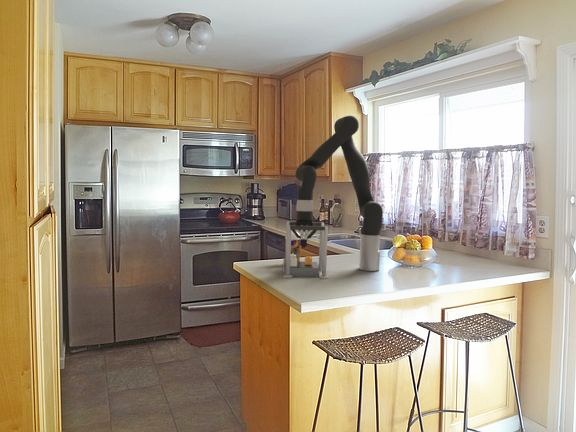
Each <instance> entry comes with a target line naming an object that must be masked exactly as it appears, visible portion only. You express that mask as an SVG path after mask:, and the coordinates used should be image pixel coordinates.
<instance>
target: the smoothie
mask: <svg viewBox="0 0 576 432" xmlns="http://www.w3.org/2000/svg"><path fill="white" fill-rule="evenodd" d="M292 226H294V225H292ZM295 231H296V232H297V233H298V235H300V232H299V231H298V230H295ZM284 239H285V240H284V242H285V243H284V244H285V245H284V246H285V250H286V236H285V237H284ZM300 243H301V239H299V238H297V237H296V235H295V234H294V233H293V231H292V230H291V254H294V255H296V259H297V261H300V260H301V252H302V251H301V250H302V249H301V248H302V246H301V245H300Z"/></svg>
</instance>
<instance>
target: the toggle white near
mask: <svg viewBox="0 0 576 432" xmlns="http://www.w3.org/2000/svg"><path fill="white" fill-rule="evenodd" d="M290 266H297V259H295V258H290Z"/></svg>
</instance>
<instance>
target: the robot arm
mask: <svg viewBox="0 0 576 432" xmlns="http://www.w3.org/2000/svg"><path fill="white" fill-rule="evenodd" d="M333 127H334V133H333V134H332V135H331V136H330V137H329V138H328V139H326V140H325V141H324V142H323V143H322V144H320V145H319V146H318V147H317V149H316V150H315V151H314V152H313V153H312V154H311V155H310V157H308V158H307V159H306V160H304V161H303V162H302V163H301V164H300V165H298V167H297V168H296V169H295V170H296V171H295V179H297V180H298V181H300V182H301V186H299V187H298V188H297V193H296V194H297V195H296V196H297V197H296V199H297V201H296V216H295V221H294V222H295V225H294V226H314V224H313V222H314V221H313V220H314V219H313V218H314V215H313V214H314V202H313V200H314V199H313V198H314V188H315V185H316V181H317V171H316V170H317V169H321V168H322V167H323V166H324V165H325V164H326V163H327V161H328V160H330V158H331V157H332V156H333V155H334V153H335V152H336V151H337V150H338V149H339V148H341V151H342V154H343V158H344V160H345V163H346V167H347V170H348V174H349V177H350V180H351V183H352V186H353V188H354V192H355V195H356V198H357V204H358V210H359V214H360V216H361V217H362V218H363V222H362V224H363V225H362V227H361V229H360V237H359V238H360V242H359V259H358V260H359V261H358V269H359V270H361V271H367V272H375V271H380V261H381V259H380V258H381V251H380V238H381V237H380V236H381V231H382V225H383V216H384V215H383V208H382V205H381V204H380V203H379V202H376V201H375V200H374V197H373V195H372V192H371V185H370V184H371V178H370V170H369V166H368V164H367V161H366V159H365V157H364V155H363V154H362V152H361V151H360V150H359V149H358V147H357V146H356V144H355V142H354V138H353V135H354V134H356V133H357V132H358V131H359V127H360V123H359V120H358V118H357V117H356V116H354V115H345V116H343V117H340V118H338V119H337V120H336V121H335V122H334V125H333ZM291 231H293V233H294V234H295V235H296V237H297V238H299V239H301V243H300V245H301V248H302V249H305V248H306V247H307V245H308V240H309V239H311V238H312V237H313V236H314V234H316V233H317V231H318V230H298V231H297V230H291ZM296 231H297V232H298V233H299V234H300V235H298V233H297V232H296ZM310 231H311V232H310ZM309 232H310V233H309ZM308 233H309V234H308Z"/></svg>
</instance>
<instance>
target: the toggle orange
mask: <svg viewBox="0 0 576 432" xmlns="http://www.w3.org/2000/svg"><path fill="white" fill-rule="evenodd" d="M304 262H305V264H307V265H312V262H313V257H312V256H310V255H307V256H304Z"/></svg>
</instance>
